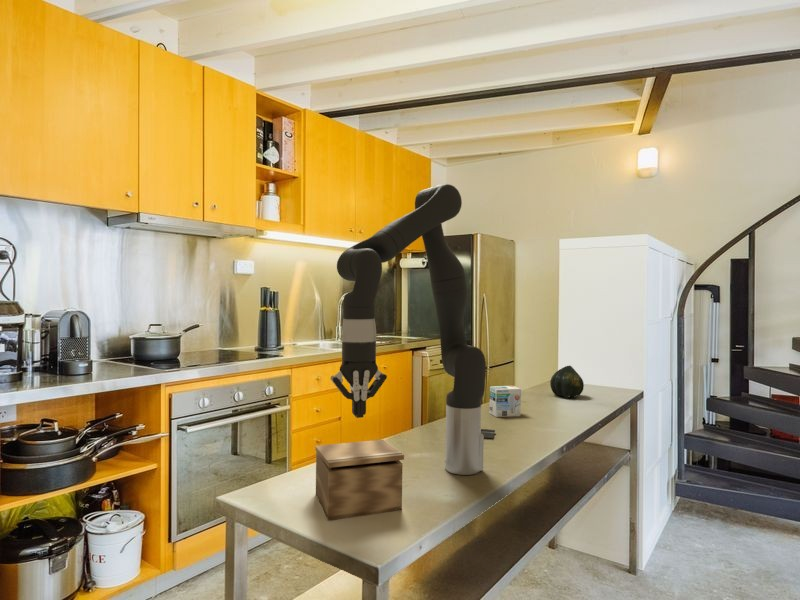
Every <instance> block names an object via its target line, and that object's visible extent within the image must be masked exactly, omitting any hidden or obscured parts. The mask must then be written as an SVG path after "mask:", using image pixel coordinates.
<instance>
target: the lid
mask: <svg viewBox="0 0 800 600" xmlns="http://www.w3.org/2000/svg"><path fill="white" fill-rule="evenodd" d="M316 452H317V453H318V454H319V456H320V457H321V458H322V460H323V461H324V462H325V464H326V465H327V466H328V468H332V467H341V466H350V465H359V464H368V463H377V462H387V461H396V460H399V461H404V460H405V454H403V452H402V451H401V450H398V449H397V448H396V447H394V446H392V445H391V444H390V443H388V442H387V441H386V440H384V439H376V440H366V441H365V440H364V441H354V442H343V443H331V444H321V445H315V453H316Z"/></svg>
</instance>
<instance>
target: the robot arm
mask: <svg viewBox="0 0 800 600" xmlns="http://www.w3.org/2000/svg"><path fill="white" fill-rule="evenodd" d="M462 201H463V200H462V195H461V193H460V191H459V190H458V189H457V188H456V186H454V185H452V184H449V183H442V184H437V185H434V186H431V187H428V188H425V189H422V190H420V191H419V192H418V193H417V194H416V196H415V198H414V210H412V211H411V212H409V213H407V214H405V215H402V216H401V217H399V218H397V219H394V220H393V221H391V222H390V223H387V224H386V225H385V226H383V228H381V229H379V230H378V231H377V232H375V233H374V234H373V235H372V236H370V237H368V238H366V239H364V240H362V241H359V242H358V243H356V244H354V245H352V246H351V247H348V248H347V249H346V250H344V251H343V252H342V253H341V254H340V255H339V257H338V259H337V261H336V262H337V263H336V272H337V273H338V275H339V276H340V278H341V279H343V280H346V281H350V282H354V285H353V289H352V290H351V291H349V292H347V293H345V295H344V296H343V302H342V305H343V306H342V308H343V309H342V318H343V319H342V326H341V327H342V328H341V365H340V367H339V371H337V373H336V374H335V375H331V377H330V380H331V382H332V383H333V384H334V386H335V387H336V388H337V389H338V391H339V392H340V393H341V395H343V397H345V398H346V399H347V400H351V413H352V415H353V416H354V417H355V418H356V419H360V418H364V415H366V413H367V400H368V399H371V398H374V397H375V395H376V394H377V392H378V391H379V390H380V389H381V387H382V385H383V384H384V383H385V381H386V380H387V378H388V376H387V374H385V373H383V372H382V371H380V370H379V366H378V365H377V328H376V327H377V326H376V321H375V320H376V297H377V294H378V290H379V286H380V283H381V278H382V275H383V274H382V273H383V263H387V262H389V261H391V260H393V259H394V258H395V257H396V256H398V255H399V254H400V253H402V251H404V250H405V249H407V248H408V247H409V246H410V245H411V244H413V243H414V242H416V240H418V239H419V238H421V237H422V242H423V245H424V251H425V255H426V260H427V264H428V270H429V276H430V283H431V291H432V295H433V301H434V305H435V311H436V312H435V313H436V317H437V318H436V319H437V323H438V327H439V328H438V330H439V338H440V341H439V342H440V354H441V362H442V363H441V364H442V366H443V370H444V371H445V372H446V373H447V374H448V375H449V376H452V377H454V379H453V388H452V391H449V392H448V393H447V394H446V399H445V400H446V401H445V403H446V404H445V405H446V406H445V453H444V455H445V456H444V457H445V460H444V463H445V465H444V468H445V470H446V471H447V472H448V473H451V474H454V475H461V476H472V475H476V474H479V472H483V471H484V444H485V443H484V442H485V441H484V440H485V439H484V435H483V434H481V429H482V428H481V427H482V426H481V425H482V400H483V398H484V395H485V387H486V377H487V376H486V375H487V374H486V371H487V362H486V357H485V354H484V352H483V351H482V350H481V349H480V348H478V347H477V346H474V345H470V344H468V341H467V337H466V332H465V328H464V327H465V326H464V324H465V314H466V310H467V305H468V299H469V292H468V291H469V289H468V283H467V278H466V272H465V269H464V266H463V265H462V263H461V261H460V260H459V259H458V256H457V255H456V254H455V253H454V252H453V250H452V249H451V248H450V246H449V244H448V242H447V240H446V237H445V235H444V230H443V226H442V225H443V223H445V222H447V221H450V220H451V219H454V218H455V217H457V215H459V213H460V211H461V208H462V205H463V203H462ZM343 377H344V379H345V381H346V382H347V384H349V388H350V392H349V390H348V389H347V388H346V387H345V384H343V381H344V379H343ZM373 378H374V380H373ZM372 380H373V381H372ZM371 381H372V383H371ZM369 383H371V384H370V385H369Z"/></svg>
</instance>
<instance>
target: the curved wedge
mask: <svg viewBox="0 0 800 600" xmlns="http://www.w3.org/2000/svg"><path fill="white" fill-rule="evenodd" d="M495 433H496V430H495V429H487V428H481V434H483V435H484V440H494V439H495Z"/></svg>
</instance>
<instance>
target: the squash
mask: <svg viewBox="0 0 800 600" xmlns="http://www.w3.org/2000/svg"><path fill="white" fill-rule="evenodd" d="M549 382H550V384H549V385H550V388H551V391H552V393H553V394H554V395H556V396H559V397H561V396H562V397H564V398H565V399H569V398H571V399H572V398H576V397H578V396H579V395H581V394H582V393H583V391H584V387H585V385H584V380H583V378H582V376H581V375H579V373H578V372H577V371H576V369H574V367H573V366H571V365H566V366H564V367H561V368H560V369H558V370H557V371H555V372H554V373H553V375H552V376H551V379H550V381H549Z"/></svg>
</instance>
